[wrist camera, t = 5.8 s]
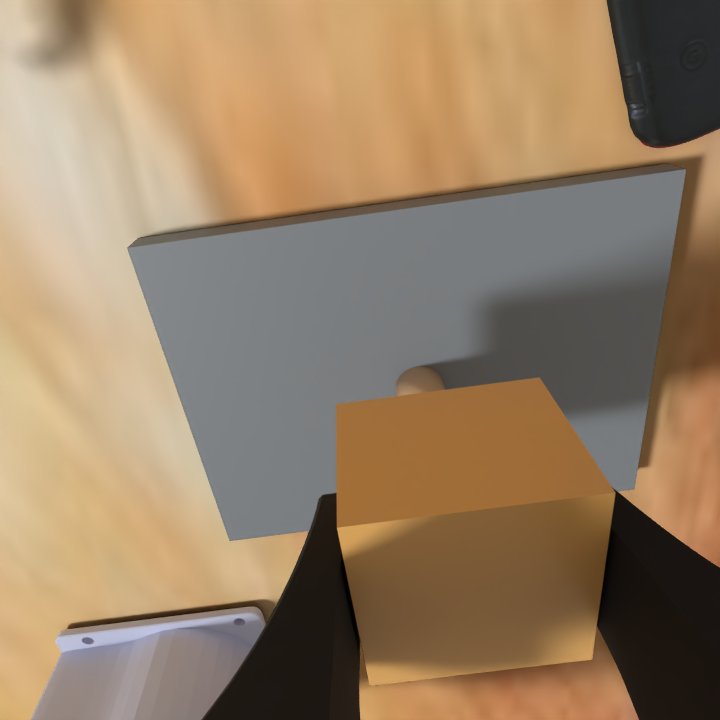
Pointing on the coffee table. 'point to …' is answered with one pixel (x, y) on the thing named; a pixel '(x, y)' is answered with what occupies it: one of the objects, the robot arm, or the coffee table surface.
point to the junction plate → (410, 323)
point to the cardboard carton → (470, 531)
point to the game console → (669, 67)
